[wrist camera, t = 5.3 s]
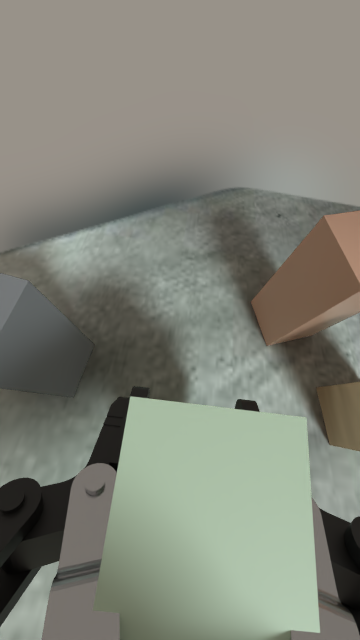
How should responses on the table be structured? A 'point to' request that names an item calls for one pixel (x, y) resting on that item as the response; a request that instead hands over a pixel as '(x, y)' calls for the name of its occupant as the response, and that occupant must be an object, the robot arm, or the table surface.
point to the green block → (210, 526)
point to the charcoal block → (38, 342)
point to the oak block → (341, 414)
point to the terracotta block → (313, 282)
